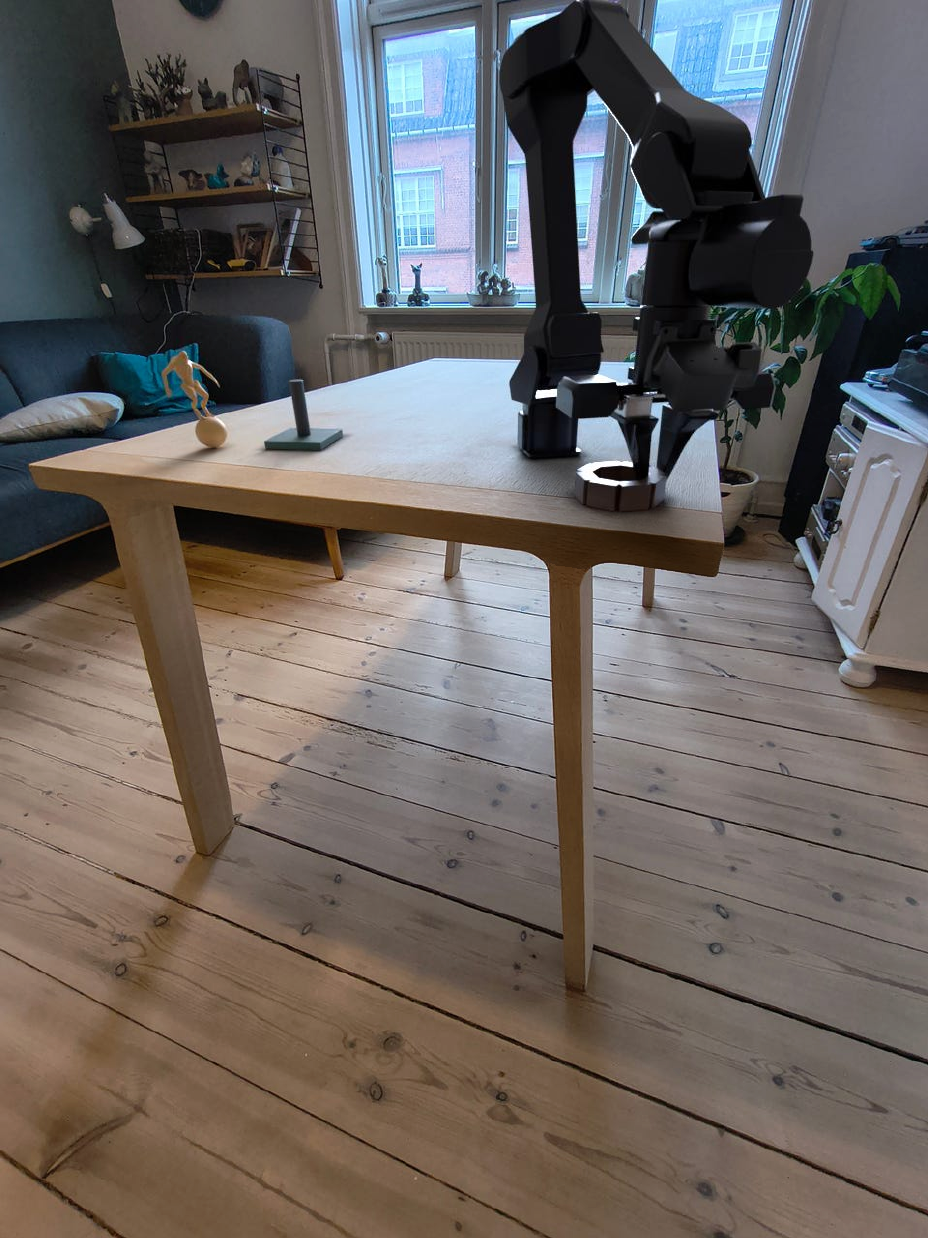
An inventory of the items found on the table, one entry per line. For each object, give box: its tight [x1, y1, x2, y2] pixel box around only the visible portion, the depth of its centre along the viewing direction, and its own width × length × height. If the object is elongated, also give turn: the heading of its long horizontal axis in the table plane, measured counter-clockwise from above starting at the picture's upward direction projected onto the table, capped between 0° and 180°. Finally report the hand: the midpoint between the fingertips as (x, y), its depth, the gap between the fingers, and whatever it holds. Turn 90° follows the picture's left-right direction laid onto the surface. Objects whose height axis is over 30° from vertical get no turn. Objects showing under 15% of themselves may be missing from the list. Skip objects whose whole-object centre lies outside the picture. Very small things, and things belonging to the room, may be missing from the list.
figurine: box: [161, 350, 228, 448], centre depth 78 cm, size 8×6×12 cm
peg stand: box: [263, 379, 344, 451], centre depth 80 cm, size 8×8×8 cm
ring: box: [573, 460, 668, 513], centre depth 58 cm, size 8×8×2 cm
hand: (651, 484), depth 58 cm, fingers closed on ring, 2 cm apart
